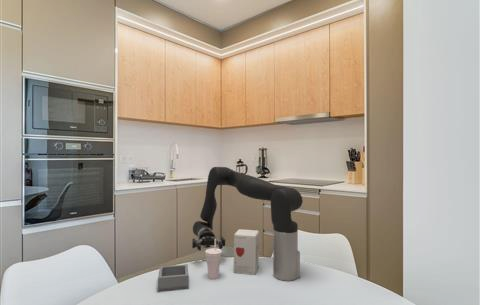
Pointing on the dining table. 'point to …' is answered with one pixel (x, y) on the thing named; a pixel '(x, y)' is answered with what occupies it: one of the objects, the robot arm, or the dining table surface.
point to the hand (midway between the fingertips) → (210, 247)
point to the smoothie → (213, 261)
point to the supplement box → (246, 251)
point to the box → (173, 278)
